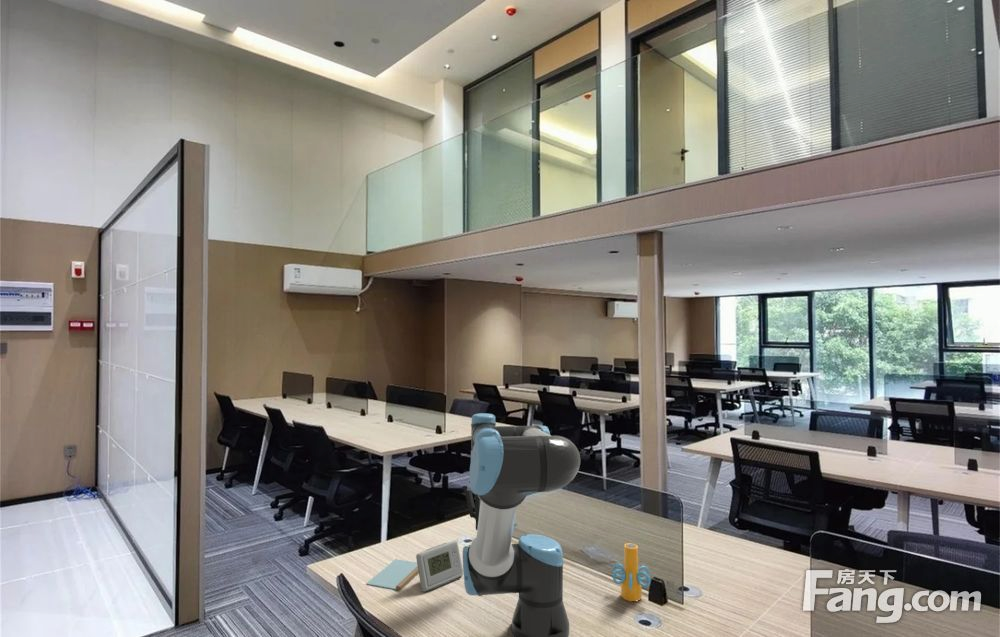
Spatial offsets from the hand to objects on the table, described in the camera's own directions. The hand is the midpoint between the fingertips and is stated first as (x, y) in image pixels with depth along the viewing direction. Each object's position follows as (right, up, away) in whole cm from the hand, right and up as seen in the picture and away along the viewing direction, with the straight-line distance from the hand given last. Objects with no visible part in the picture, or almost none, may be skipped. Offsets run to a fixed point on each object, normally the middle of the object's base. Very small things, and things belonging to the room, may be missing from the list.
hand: (482, 541), depth 151 cm
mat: (-28, -14, +8) cm, 32 cm away
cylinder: (+45, -15, -5) cm, 47 cm away
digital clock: (-13, -15, +3) cm, 20 cm away
